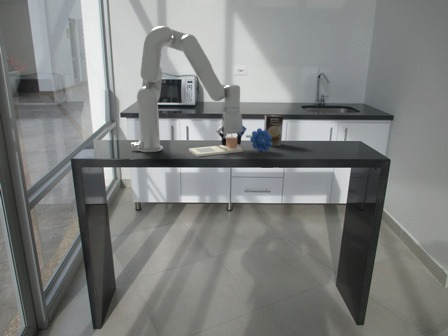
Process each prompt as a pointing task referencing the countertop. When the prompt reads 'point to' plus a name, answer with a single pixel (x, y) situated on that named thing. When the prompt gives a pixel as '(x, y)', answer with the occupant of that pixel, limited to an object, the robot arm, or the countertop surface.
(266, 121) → the coffee box
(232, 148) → the stub
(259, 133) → the grapes
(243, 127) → the robot arm
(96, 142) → the countertop surface
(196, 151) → the cream panel with window
